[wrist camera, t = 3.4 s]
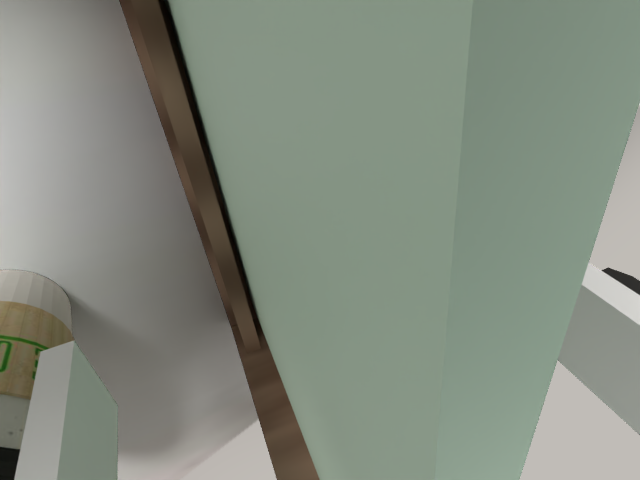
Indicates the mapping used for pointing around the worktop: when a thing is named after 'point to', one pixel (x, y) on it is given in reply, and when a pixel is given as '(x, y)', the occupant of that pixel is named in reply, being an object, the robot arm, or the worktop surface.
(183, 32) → the sheet
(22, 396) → the coffee cup
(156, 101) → the rack
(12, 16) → the worktop surface
